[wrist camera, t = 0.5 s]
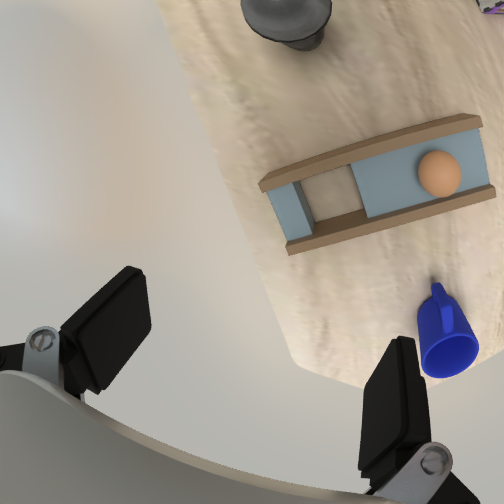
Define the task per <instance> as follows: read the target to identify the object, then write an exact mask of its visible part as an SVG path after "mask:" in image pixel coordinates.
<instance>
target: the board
mask: <svg viewBox="0 0 504 504" xmlns="http://www.w3.org/2000/svg"><path fill="white" fill-rule="evenodd" d="M480 127H483V124H482V121H481V117H480V116H478V115H471V114H464V113H463V114H459V115H455V116H451V117H446V118H442V119H438V120H435V121H431V122H427V123H423V124H419V125H416V126H412V127H408V128H405V129H401V130H397V131H394V132H391V133H387V134H384V135H380V136H377V137H374V138H370V139H367V140H364V141H361V142H357V143H354V144H351V145H348V146H345V147H342V148H339V149H336V150H333V151H330V152H327V153H324V154H321V155H318V156H315V157H312V158H309V159H306V160H303V161H300V162H297V163H295V164H292V165H289V166H286V167H284V168H281V169H278V170H275V171H273V172H270V173H268V174H267V175H266V176H265V177H264V178H263V179H262V180H261V181H260V182H259V183H258V185H259V187H260V189H261V192H262V193H264V192H267V194H268V197H269V199H270V201H271V204H272V206H273V208H274V211H275V213H276V215H277V218H278V220H279V222H280V225H281V227H282V230H283V232H284V234H285V237H286V239H287V244H286V246H285V247H286V250H287V252H288V255H289V256H290V255H293V254H297V253H301V252H305V251H308V250H312V249H316V248H319V247H323V246H327V245H330V244H334V243H338V242H341V241H345V240H348V239H352V238H356V237H359V236H363V235H367V234H370V233H374V232H377V231H381V230H384V229H388V228H392V227H395V226H399V225H402V224H406V223H409V222H413V221H416V220H420V219H423V218H427V217H430V216H434V215H437V214H441V213H444V212H448V211H451V210H454V209H458V208H461V207H465V206H468V205H472V204H475V203H478V202H482V201H485V200H489V199H492V198H495V197H496V190H495V187H494V186H493V185H491V184H490V182H489V176H488V170H487V165H486V160H485V155H484V150H483V146H482V141H481V137H480V133H479V129H478V128H480ZM435 150H441V151H445V152H447V153H449V154H451V155H452V156H453V157H454V158H455V159H456V160H457V162H458V164H459V166H460V169H461V174H462V177H461V183H460V185H459V187H458V189H457V190H456V191H455V192H454V193H453V194H452V195H450V196H447V197H436V196H433V195H431V194H430V193H428V192H427V191H426V190H425V189H424V188H423V186H422V185H421V183H420V180H419V176H418V168H419V164H420V161H421V160H422V158H423V157H424V156H425V155H426V154H427V153H429V152H431V151H435ZM347 164H350V165H351V168H352V171H353V173H354V176H355V179H356V182H357V185H358V188H359V191H360V194H361V197H362V200H363V204H364V207H365V209H361V210H358V211H354V212H351V213H348V214H344V215H341V216H337V217H334V218H331V219H327V220H324V221H320V222H317V223H315V222H314V219H313V216H312V214H311V211H310V208H309V206H308V203H307V201H306V198H305V196H304V193H303V191H302V188H301V186H300V183H299V181H298V180H301V179H304V178H307V177H310V176H313V175H316V174H319V173H322V172H325V171H328V170H332V169H335V168H338V167H341V166H344V165H347Z"/></svg>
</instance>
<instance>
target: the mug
mask: <svg viewBox="0 0 504 504" xmlns="http://www.w3.org/2000/svg"><path fill="white" fill-rule="evenodd" d="M431 289H432V295H433V297H432V298H430V299H429V300H427V301H426V302H425V303H424V304H423V305H422V307H421V308H420V310H419V313H418V331H419V341H420V352H421V365H422V369H423V371H424V372H425V373H426V374H427V375H429V376H431V377H434V378H447V377H451V376H454V375H457V374H459V373H460V372H462V371H464V370H465V369H466V368H468V367H469V366H470V365H471V364H472V363H473V361H474V360H475V358H476V356H477V354H478V351H479V344H478V341H477V339H476V337H475V335H474V333H473V331H472V329H471V327H470V325H469V323H468V321H467V319H466V317H465V315H464V314H463V312H462V310H461V308H460V306H459V305H458V303H457V302H456V301H455V300H454V299H453V298H452V297H450V296H447V293H446V291H445V290H444V288H443V286H442V284H441V283H439V282H438V283H434V284H432V286H431Z"/></svg>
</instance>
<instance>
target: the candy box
mask: <svg viewBox="0 0 504 504" xmlns="http://www.w3.org/2000/svg"><path fill="white" fill-rule="evenodd" d="M476 1H477V3H478V5H479V7H480V10H481V12H483V13H488V14H504V0H476Z"/></svg>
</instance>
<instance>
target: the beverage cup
mask: <svg viewBox="0 0 504 504" xmlns="http://www.w3.org/2000/svg"><path fill="white" fill-rule="evenodd" d="M241 7H242V11H243V15H244V17H245V20H246V22H247V23H248V25H249V26H250V27H251V29H252V30H253V31H255V32H256V33H257V34H259V35H260V36H262V37H263V38H266V39H269V40H272V41H275V42H281V43H283V44H285V45H287V46H288V47H290V48H293V49H295V50H298V51H310V50H313V49H315V48H316V47H317V46H318V45H319V44H320V43H321V41H322V38H323V36H324V29H325V26H326V24H327V22H328V20H329V18H330V16H331V11H332V2H331V0H241Z"/></svg>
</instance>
